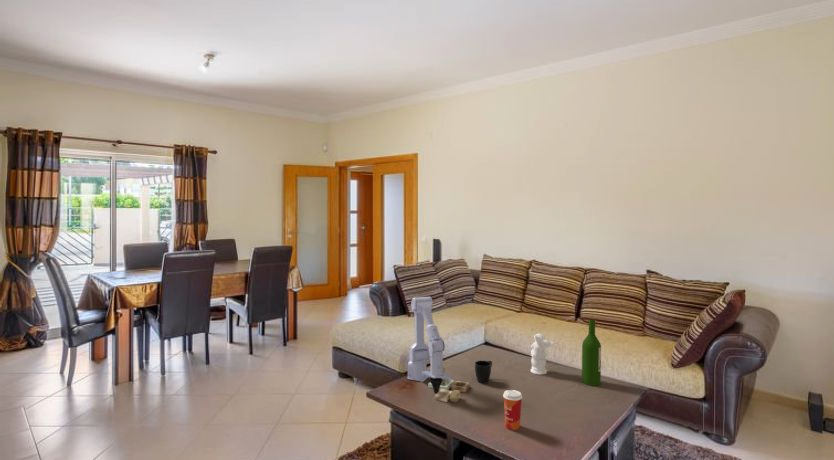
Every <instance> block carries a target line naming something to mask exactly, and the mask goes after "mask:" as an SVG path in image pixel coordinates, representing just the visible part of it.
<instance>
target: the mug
mask: <svg viewBox="0 0 834 460" xmlns="http://www.w3.org/2000/svg"><path fill="white" fill-rule="evenodd" d="M492 366H493V361H492V360H488V361H487V360H477V361H475V363H474V372H475V377H476V380H477V383H479V384H488V383H489V381H490V377H491V374H492V373H491V372H492Z"/></svg>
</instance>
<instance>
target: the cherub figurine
mask: <svg viewBox="0 0 834 460" xmlns="http://www.w3.org/2000/svg"><path fill="white" fill-rule="evenodd" d="M533 338H534V342H533V343H532V344H530V347H529V348H530V349H531V352H530V355H531V360H530V364H531V368H530V373H532V374H533V375H539V376H540V375H546V374H547V372H548V370H547V369H546V365H547V360H546V357H547V352H546V349H547V348H550V347H552V346H553V345H554V343H555V342H554V341H550V340H549V339H545V338H546V337H545V335H543V334H542V333H536V334H534V336H533Z"/></svg>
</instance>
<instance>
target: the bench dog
mask: <svg viewBox="0 0 834 460" xmlns="http://www.w3.org/2000/svg"><path fill="white" fill-rule="evenodd" d="M451 391H452V392H451V393H450V399H449V401H450V402H454V403H457V402H458V401H459V400H460V399H461V391H459V390H451Z"/></svg>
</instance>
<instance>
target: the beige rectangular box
mask: <svg viewBox="0 0 834 460" xmlns="http://www.w3.org/2000/svg"><path fill="white" fill-rule="evenodd" d="M452 391H453V390H449V389H448V390H444V389H441V390H439V392H438V393H437V394H434V400H435V401H439V402H445V403H447V402H448V401H450V393H451V392H452Z"/></svg>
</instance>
